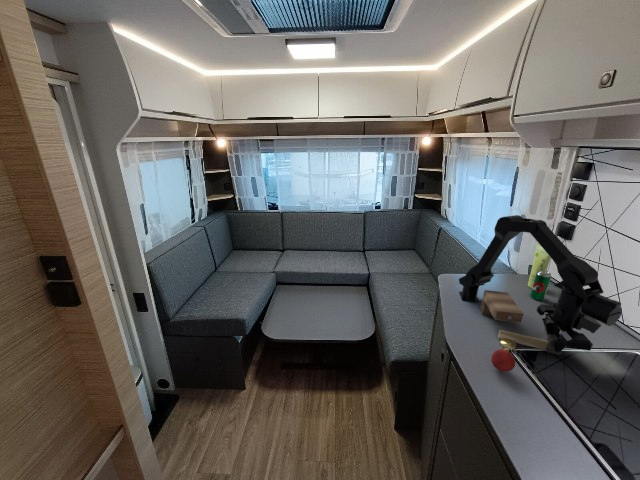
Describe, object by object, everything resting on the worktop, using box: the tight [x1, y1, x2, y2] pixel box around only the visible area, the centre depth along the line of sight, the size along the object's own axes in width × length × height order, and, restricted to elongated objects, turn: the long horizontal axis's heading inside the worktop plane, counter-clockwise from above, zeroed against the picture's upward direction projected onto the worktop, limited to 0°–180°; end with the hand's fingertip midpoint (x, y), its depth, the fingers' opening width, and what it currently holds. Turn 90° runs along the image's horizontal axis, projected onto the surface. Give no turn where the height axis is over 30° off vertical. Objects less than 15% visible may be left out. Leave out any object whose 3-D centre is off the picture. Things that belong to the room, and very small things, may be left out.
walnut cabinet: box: [479, 289, 525, 324], centre depth 105 cm, size 15×8×9 cm, turn 168°
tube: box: [527, 243, 552, 289], centre depth 128 cm, size 6×5×20 cm
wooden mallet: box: [497, 329, 563, 356], centre depth 94 cm, size 3×17×5 cm, turn 66°
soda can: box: [529, 270, 552, 301], centre depth 120 cm, size 5×5×12 cm
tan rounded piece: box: [499, 338, 517, 351], centre depth 95 cm, size 4×4×2 cm
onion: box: [490, 348, 516, 373], centre depth 84 cm, size 6×6×8 cm
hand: (554, 347), depth 92 cm, fingers closed on wooden mallet, 3 cm apart
